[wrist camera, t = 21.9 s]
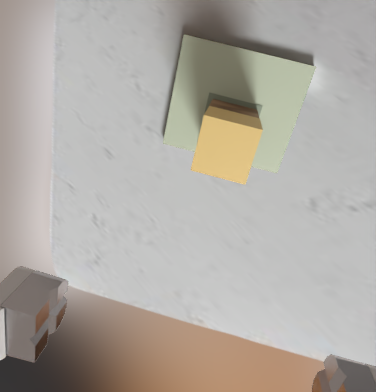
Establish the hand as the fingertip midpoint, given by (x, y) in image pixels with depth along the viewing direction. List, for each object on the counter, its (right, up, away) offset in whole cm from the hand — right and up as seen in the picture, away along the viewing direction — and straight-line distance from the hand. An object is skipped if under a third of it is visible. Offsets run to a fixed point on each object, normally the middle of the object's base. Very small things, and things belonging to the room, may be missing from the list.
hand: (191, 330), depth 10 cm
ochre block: (+4, +10, +22) cm, 25 cm away
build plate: (+5, +14, +27) cm, 31 cm away
